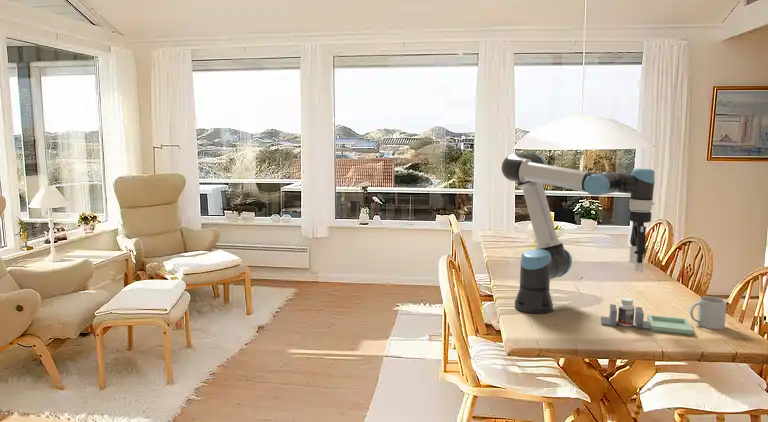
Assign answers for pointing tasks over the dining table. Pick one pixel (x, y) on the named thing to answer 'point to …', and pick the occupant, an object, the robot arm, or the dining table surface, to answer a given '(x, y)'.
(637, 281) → the dining table surface
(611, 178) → the robot arm
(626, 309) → the pill bottle
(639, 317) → the bookends
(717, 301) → the mug
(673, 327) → the tray
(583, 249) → the dining table surface
